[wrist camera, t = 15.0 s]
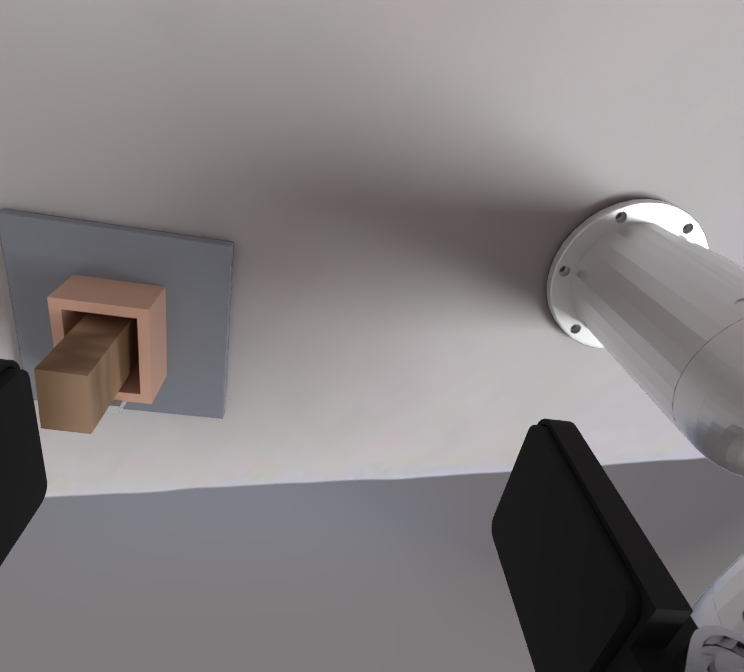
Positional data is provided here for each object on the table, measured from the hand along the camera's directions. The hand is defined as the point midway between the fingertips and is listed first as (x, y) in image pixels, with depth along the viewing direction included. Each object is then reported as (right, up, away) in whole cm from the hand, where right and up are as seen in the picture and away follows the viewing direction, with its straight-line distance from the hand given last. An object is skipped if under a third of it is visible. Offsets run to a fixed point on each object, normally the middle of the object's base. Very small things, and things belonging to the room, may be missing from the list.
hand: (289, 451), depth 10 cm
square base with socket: (-18, +3, +32) cm, 37 cm away
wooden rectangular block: (-18, +3, +31) cm, 36 cm away
